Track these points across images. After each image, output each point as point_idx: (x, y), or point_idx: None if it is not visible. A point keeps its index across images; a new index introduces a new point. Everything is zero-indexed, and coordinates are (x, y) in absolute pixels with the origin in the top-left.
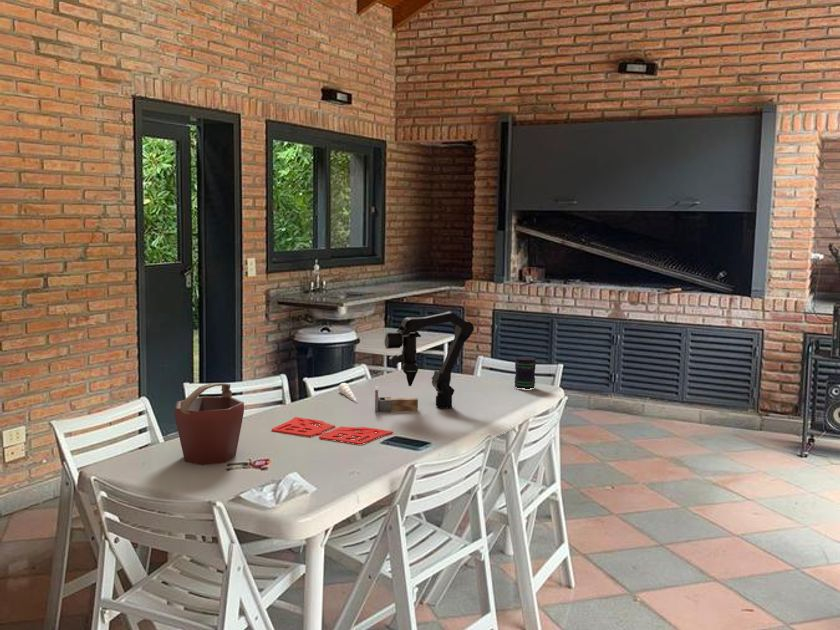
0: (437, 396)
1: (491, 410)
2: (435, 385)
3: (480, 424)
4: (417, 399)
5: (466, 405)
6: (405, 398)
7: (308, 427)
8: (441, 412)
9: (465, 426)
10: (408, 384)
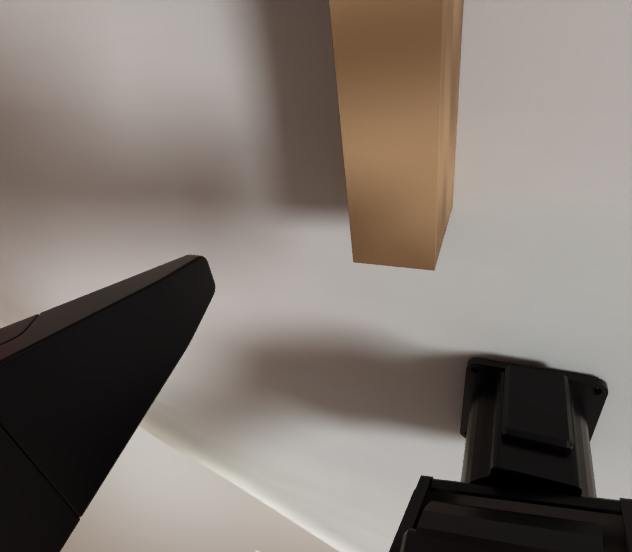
0: (515, 442)
1: None
2: (453, 536)
3: (171, 421)
4: (363, 259)
5: None
6: (410, 122)
7: None
8: (358, 350)
9: None
10: (164, 267)
